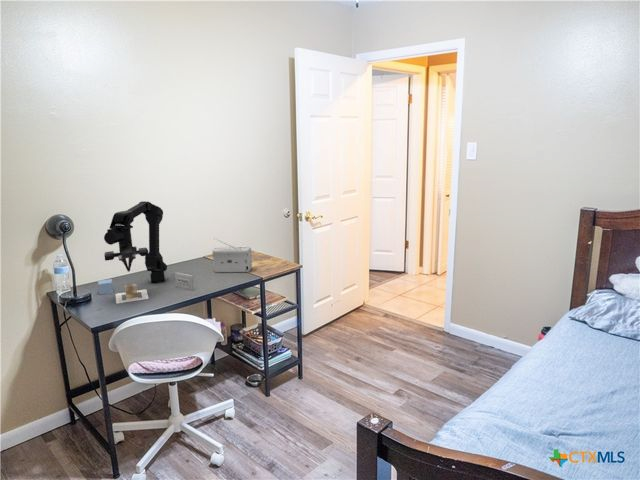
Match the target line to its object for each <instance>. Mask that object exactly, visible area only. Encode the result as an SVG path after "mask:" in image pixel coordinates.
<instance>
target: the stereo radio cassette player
mask: <svg viewBox="0 0 640 480" xmlns="http://www.w3.org/2000/svg"><path fill="white" fill-rule="evenodd" d="M213 239H214V240H216V241H219V242H220V243H222V244H224V245H227V246H229V247H227V246H226V247H223V246H222V247H213V249H212V250H211V251H212V260H213V261H212V262H213V270H214V272H215V273H216V274H217V273H248V272H250V271H251V270H252V268H253V259H252V248H251V247H250V246H240V247H239V246H238V247H237V246H236V247H235V246H232V245H230V244H229V243H227V242H223V241H221V240H220V239H217V238H215V237H214V238H213Z"/></svg>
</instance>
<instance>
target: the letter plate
mask: <svg viewBox="0 0 640 480" xmlns="http://www.w3.org/2000/svg"><path fill="white" fill-rule="evenodd" d="M137 294H138V297H134V298H128V299H126V292H120V293H119V292H118V293H115V302H116V304H124V303H127V302H128V303H129V302H135V301H141V300H148V299H149V295H148V292H147V289H146V288H145V289H140V290H138V289H137Z"/></svg>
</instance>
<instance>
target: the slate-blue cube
mask: <svg viewBox="0 0 640 480" xmlns="http://www.w3.org/2000/svg"><path fill="white" fill-rule="evenodd" d="M97 286H98V292H99V295H100V296H101V295H102V296H103V295H108V294H113V293H114V286H113V279H112V278H110V279H102V280H100V279H99V280H98V281H97Z"/></svg>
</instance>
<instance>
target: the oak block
mask: <svg viewBox="0 0 640 480" xmlns="http://www.w3.org/2000/svg"><path fill="white" fill-rule="evenodd" d="M124 290H125V292H126V299H128V298H134V297H138V294H137V291H138V287H137V284H136V283H133V284H125V285H124ZM125 292H124V293H125Z"/></svg>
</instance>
